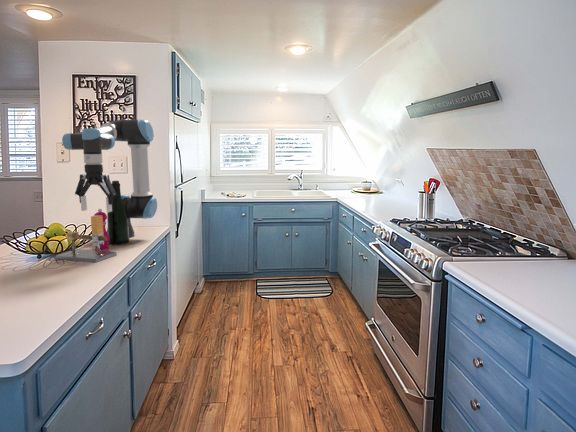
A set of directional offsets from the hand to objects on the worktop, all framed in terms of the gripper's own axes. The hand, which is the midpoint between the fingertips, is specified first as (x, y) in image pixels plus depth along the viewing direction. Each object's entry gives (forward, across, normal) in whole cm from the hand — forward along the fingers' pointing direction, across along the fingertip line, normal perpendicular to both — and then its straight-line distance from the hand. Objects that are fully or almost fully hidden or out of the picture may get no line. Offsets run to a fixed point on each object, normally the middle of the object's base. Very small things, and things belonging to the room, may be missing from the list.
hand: (96, 211), depth 208 cm
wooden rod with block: (+20, -6, -1) cm, 21 cm away
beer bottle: (+22, -12, +29) cm, 39 cm away
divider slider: (+19, 0, -1) cm, 19 cm away
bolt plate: (+22, -7, -1) cm, 23 cm away
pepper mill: (+22, -12, +16) cm, 30 cm away
